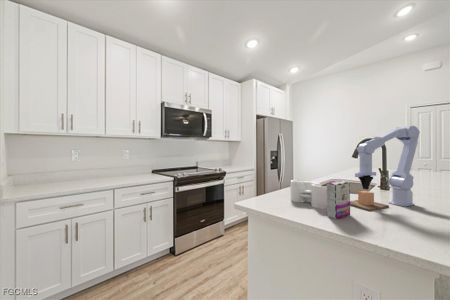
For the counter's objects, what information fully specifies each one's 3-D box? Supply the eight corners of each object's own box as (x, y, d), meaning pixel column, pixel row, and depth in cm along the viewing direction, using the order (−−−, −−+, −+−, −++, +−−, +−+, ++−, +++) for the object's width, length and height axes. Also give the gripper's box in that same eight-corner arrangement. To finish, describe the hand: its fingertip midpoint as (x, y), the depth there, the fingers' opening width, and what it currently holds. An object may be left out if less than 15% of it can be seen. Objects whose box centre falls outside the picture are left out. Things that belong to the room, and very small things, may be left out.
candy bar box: (340, 212, 102) (340, 180, 102) (350, 215, 98) (350, 181, 97) (326, 216, 97) (326, 182, 97) (336, 219, 93) (335, 184, 92)
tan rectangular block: (364, 202, 116) (364, 190, 116) (374, 204, 111) (374, 192, 111) (358, 203, 114) (358, 191, 114) (367, 205, 109) (367, 193, 109)
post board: (363, 200, 122) (363, 191, 122) (388, 207, 109) (388, 197, 109) (344, 203, 117) (343, 194, 117) (368, 211, 104) (368, 200, 103)
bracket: (286, 200, 127) (286, 180, 127) (296, 197, 132) (296, 179, 132) (325, 210, 106) (325, 187, 106) (335, 207, 111) (335, 185, 111)
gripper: (363, 166, 106) (363, 191, 106) (382, 164, 111) (381, 189, 112) (351, 165, 113) (351, 189, 113) (368, 163, 118) (368, 186, 118)
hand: (365, 189), depth 113 cm, fingers closed
